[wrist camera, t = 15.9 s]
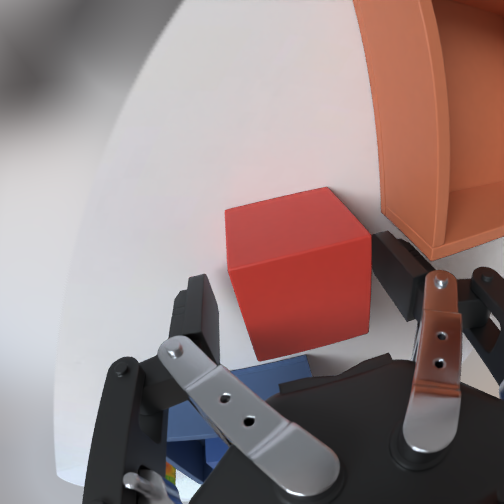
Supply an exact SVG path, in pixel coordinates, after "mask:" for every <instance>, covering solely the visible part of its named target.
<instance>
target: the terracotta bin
mask: <svg viewBox="0 0 504 504" xmlns="http://www.w3.org/2000/svg"><path fill="white" fill-rule="evenodd" d="M353 4H354V7H355V11H356V15H357V19H358V24H359V28H360V32H361V37H362V42H363V46H364V51H365V57H366V62H367V67H368V73H369V79H370V86H371V92H372V99H373V107H374V115H375V124H376V133H377V144H378V156H379V171H380V191H381V213H382V214H384V215H385V216H386V217H387V218H388V219H389V220H390V221H391V222H392V223H393V224H394V225H395V226H396V227H397V228H398V229H399V230H401V231H402V232H403V233H404V234H405V235H406V236H407V237H408V238H409V239H410V240H411V241H412V242H413V243H414V244H415V245H416V246H417V247H418V248H419V249H420V250H421V252H422V253H423V254H424V255H425V256H426V257H427V258H428V259H429V260H430V261H434V260H437V259H440V258H443V257H446V256H449V255H452V254H455V253H458V252H461V251H464V250H467V249H470V248H473V247H476V246H478V245H481V244H484V243H487V242H490V241H492V240H495V239H498V238H500V237H503V236H504V0H353Z"/></svg>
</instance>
